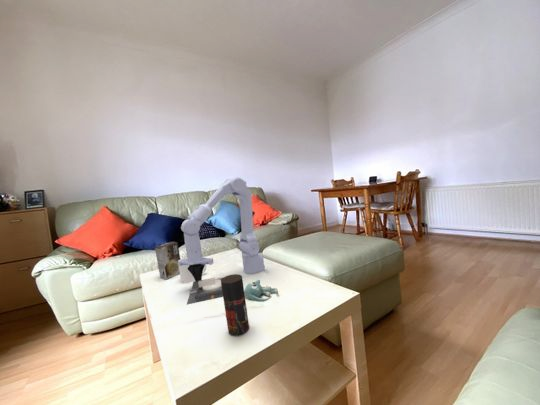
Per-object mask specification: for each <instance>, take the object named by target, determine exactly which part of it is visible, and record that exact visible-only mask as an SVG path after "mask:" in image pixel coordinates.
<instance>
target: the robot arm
mask: <svg viewBox="0 0 540 405" xmlns="http://www.w3.org/2000/svg"><path fill="white" fill-rule="evenodd" d="M230 194H231V195H233V196H235V197H236V198H237V199H239V212H240V226H241V234H240V236H239V241H238V245H237V246H238V249H239V251H240V252H241V259H242V265H243V272H244V274H246V275H254V274H257V273H260V272H266V269H265V261H264V255H263V253H262V252H259V251H260V244H259V242H258V238H257V236H256V234H255V230H254V218H253V217H254V216H253V204H252V203H253V201H252V200H253V199H252V192H251V191H250V189H249V188H248V186H247V181H245V180H244V179H243V178H241V177H238V176H236V177H234V178H233V177H232V178H227V179H226V180H225V181H224V182H223V183H222V184H220V185H219V187H218V188H217V189H216V190H215V192H214V193H213V194H212V195H211V196H210V197H209V198H208V200H207V201H206V203H202V204H199V205H196V207H195V209H194V211H193V212H191V214H190V215H187V219H185V220H184V221H182V224H181V226H180V229H181V231H182V232H183V238H184V245H185V250H186V251H185V252H186V257H187V259H185V260H180V261H178V263H179V266H182V265H189V267H188V270H189V271H190V273H191V274H192V275H193V277H194V279H195V281H200V280H203V279H202V278H203V274H202V272H203V269H204V266H205V264H206V265H210V266H212V265H213V264H214V258H213V257H211V258H209V257H203V251H202V245H201V239H200V234H199V232H200V230H201V226H202V225H203V224H204V223H205V222H206V221H207V219H208V218H209V217H210V216H211V215H212V209H213V208H214V207H215V206H216V205H217V204H218V203H219V202H220V201H221V200H222V198H224V197H225V196H227V195H230Z"/></svg>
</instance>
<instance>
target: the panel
mask: <svg viewBox="0 0 540 405" xmlns="http://www.w3.org/2000/svg"><path fill="white" fill-rule="evenodd" d="M224 277H225V276H224ZM224 277H219V278H217V279H220V280H221V279H222V278H224ZM219 298H223V293H222V288H221V289H216V290H212V291H207V292H203V288H202V287H199V288H195V289H194V288H193V284H192V286H191V289H190V291H189V295H188V298H187V302H186V305H187V306H188V305H190V304H191V305H192V304H197V303H202V302H205V301H211V300H215V299H219Z"/></svg>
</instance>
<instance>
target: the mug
mask: <svg viewBox="0 0 540 405" xmlns="http://www.w3.org/2000/svg"><path fill="white" fill-rule="evenodd" d="M180 259H181V260H185V259H187V256H186V257H183V258H180ZM179 261H180V260H179ZM178 265H179V263H178ZM188 267H189V265H182V266H179V271H180V274H179V276H180V277H179V278H180V281H181V283H186V284H187V283H192V282H194V281H195V279H194V277H193V275H192V274H191V273H190V271H189V270H188ZM206 271H207V264H205V266H204V269H203V272H202V275H203V274H205V273H206Z"/></svg>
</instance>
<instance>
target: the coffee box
mask: <svg viewBox="0 0 540 405" xmlns="http://www.w3.org/2000/svg"><path fill="white" fill-rule="evenodd" d="M178 244H179V243H178V242H177V241H169V242H165V243H162V244H159V245H157V246H154V250H155V256H156V261H157V262H156V263H157V268H158V273H159V278H160V279H162V280H163V279H164V280H166V281H167V280H169V279H171V278H174V277H176V276H178V275H180V271H179V265H178V261H179V260H181V259H182V258H181V255H180V254H181V253H180V250H179V245H178Z"/></svg>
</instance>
